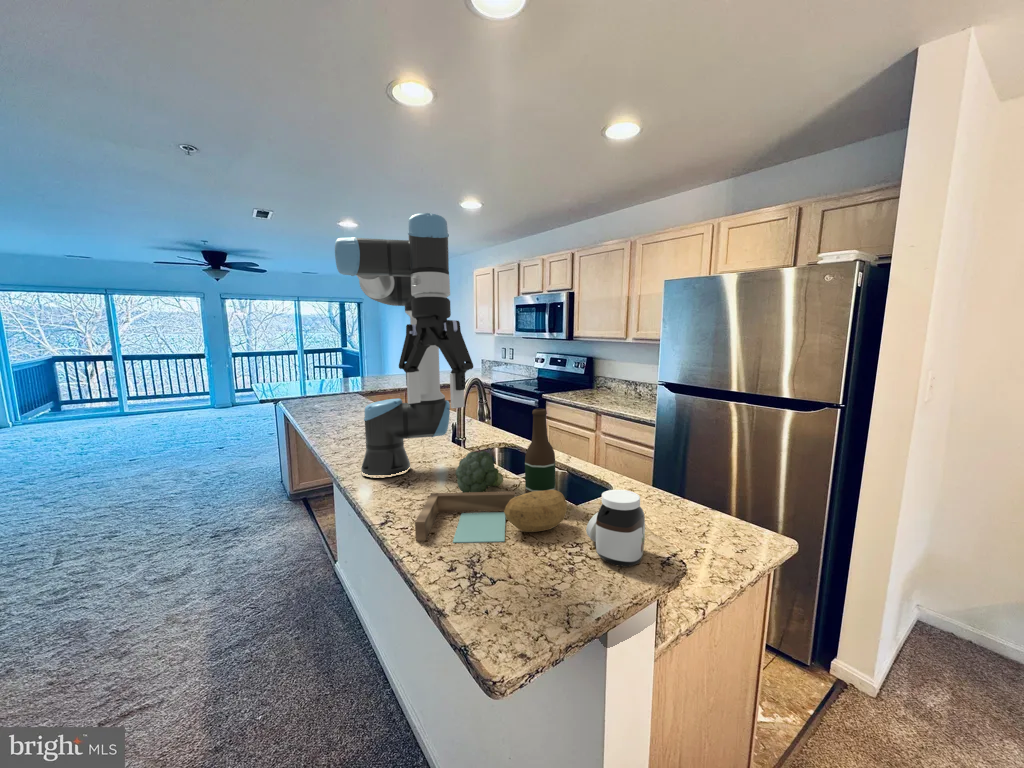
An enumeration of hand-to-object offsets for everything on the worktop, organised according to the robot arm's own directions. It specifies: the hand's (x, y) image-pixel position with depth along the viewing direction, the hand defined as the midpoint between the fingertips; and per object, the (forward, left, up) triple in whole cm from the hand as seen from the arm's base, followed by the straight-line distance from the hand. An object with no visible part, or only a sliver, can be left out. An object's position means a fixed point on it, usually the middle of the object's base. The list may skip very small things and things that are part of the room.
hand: (434, 405), depth 80 cm
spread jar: (+6, +34, -28) cm, 45 cm away
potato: (-4, +20, -28) cm, 35 cm away
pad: (-6, +8, -28) cm, 30 cm away
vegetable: (-28, +6, -28) cm, 40 cm away
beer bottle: (-18, +22, -28) cm, 40 cm away
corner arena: (-8, +5, -28) cm, 29 cm away
